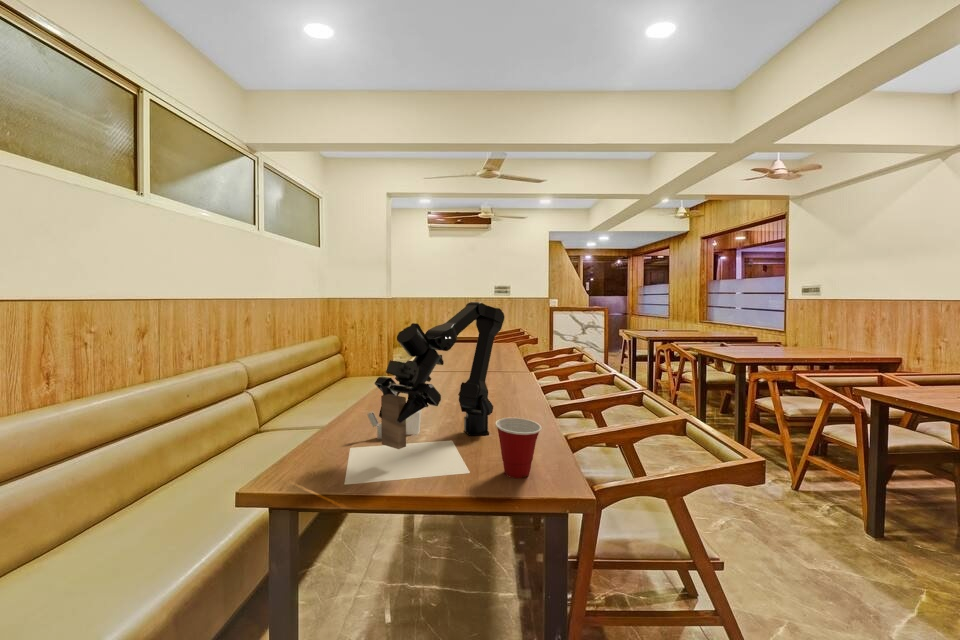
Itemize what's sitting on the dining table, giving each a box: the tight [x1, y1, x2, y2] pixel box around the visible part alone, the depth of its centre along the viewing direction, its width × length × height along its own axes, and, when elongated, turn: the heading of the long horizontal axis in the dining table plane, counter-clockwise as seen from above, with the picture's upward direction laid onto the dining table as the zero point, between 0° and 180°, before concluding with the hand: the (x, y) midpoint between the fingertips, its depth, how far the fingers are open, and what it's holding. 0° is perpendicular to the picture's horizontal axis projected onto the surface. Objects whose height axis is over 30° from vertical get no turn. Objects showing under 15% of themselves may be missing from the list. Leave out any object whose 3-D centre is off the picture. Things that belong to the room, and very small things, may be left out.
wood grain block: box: [380, 394, 407, 449], centre depth 104 cm, size 3×6×12 cm, turn 54°
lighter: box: [367, 411, 382, 440], centre depth 125 cm, size 7×2×8 cm, turn 85°
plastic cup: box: [495, 417, 543, 479], centre depth 100 cm, size 11×11×12 cm
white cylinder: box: [406, 409, 422, 436], centre depth 131 cm, size 7×7×7 cm
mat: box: [344, 440, 471, 485], centre depth 108 cm, size 28×24×1 cm
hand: (389, 419), depth 103 cm, fingers closed on wood grain block, 6 cm apart
